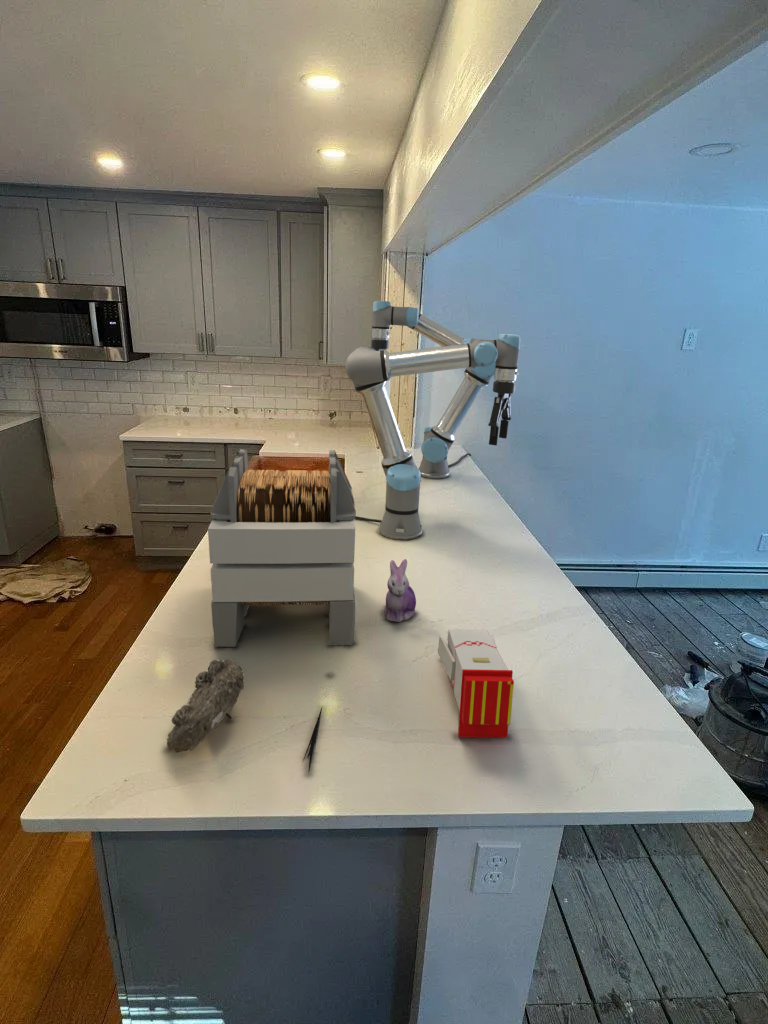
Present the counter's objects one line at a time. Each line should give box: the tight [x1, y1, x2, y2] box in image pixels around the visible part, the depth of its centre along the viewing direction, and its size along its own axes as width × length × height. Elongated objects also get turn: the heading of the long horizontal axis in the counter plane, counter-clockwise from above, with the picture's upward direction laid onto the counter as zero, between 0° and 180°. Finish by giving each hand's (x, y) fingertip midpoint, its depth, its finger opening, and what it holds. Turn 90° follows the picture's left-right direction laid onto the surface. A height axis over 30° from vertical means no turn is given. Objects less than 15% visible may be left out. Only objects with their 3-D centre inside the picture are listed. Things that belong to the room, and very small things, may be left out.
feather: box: [301, 673, 332, 771], centre depth 108 cm, size 2×28×2 cm
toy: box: [437, 628, 515, 738], centre depth 117 cm, size 12×13×30 cm
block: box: [385, 377, 392, 401], centre depth 250 cm, size 9×6×12 cm, turn 62°
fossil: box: [166, 658, 245, 754], centre depth 106 cm, size 22×10×15 cm
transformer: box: [207, 448, 357, 649], centre depth 139 cm, size 34×33×41 cm
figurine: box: [384, 558, 417, 623], centre depth 145 cm, size 9×10×15 cm
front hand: (497, 441), depth 203 cm, fingers open, 13 cm apart
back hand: (377, 393), depth 251 cm, fingers closed on block, 6 cm apart
